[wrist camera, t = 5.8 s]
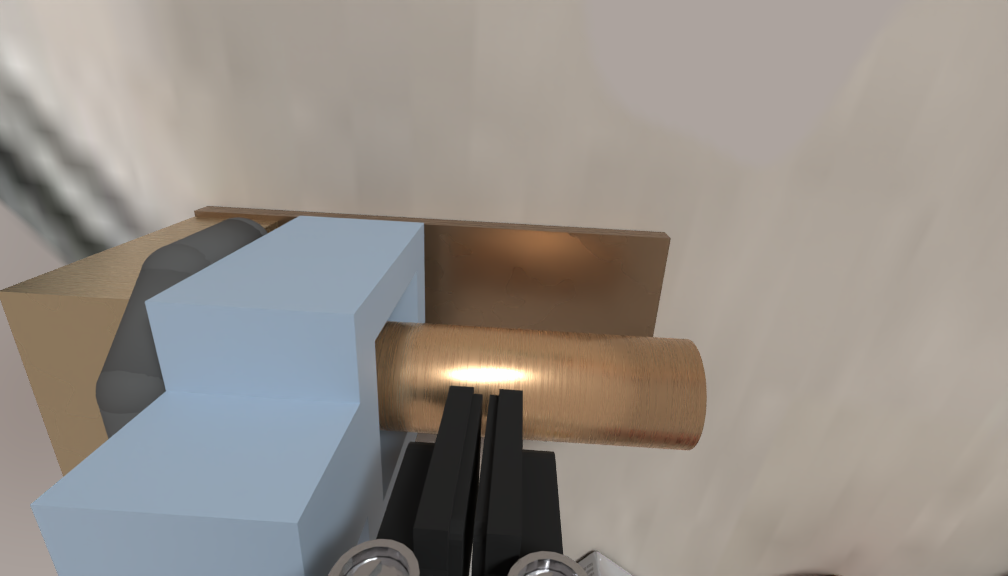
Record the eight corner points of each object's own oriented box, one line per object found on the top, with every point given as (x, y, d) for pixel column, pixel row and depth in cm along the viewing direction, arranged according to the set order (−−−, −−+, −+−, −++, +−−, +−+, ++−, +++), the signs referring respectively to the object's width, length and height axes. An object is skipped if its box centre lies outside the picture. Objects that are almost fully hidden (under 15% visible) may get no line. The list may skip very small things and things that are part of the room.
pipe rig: (664, 232, 18) (761, 329, 11) (639, 373, 20) (706, 534, 13) (207, 206, 18) (-6, 283, 11) (232, 348, 21) (68, 491, 13)
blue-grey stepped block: (423, 222, 16) (281, 409, 7) (426, 406, 18) (325, 727, 9) (299, 215, 16) (-15, 389, 7) (319, 399, 18) (112, 710, 9)
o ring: (303, 200, 16) (123, 289, 9) (324, 402, 19) (201, 594, 12) (255, 197, 16) (35, 284, 9) (283, 400, 19) (134, 589, 12)
